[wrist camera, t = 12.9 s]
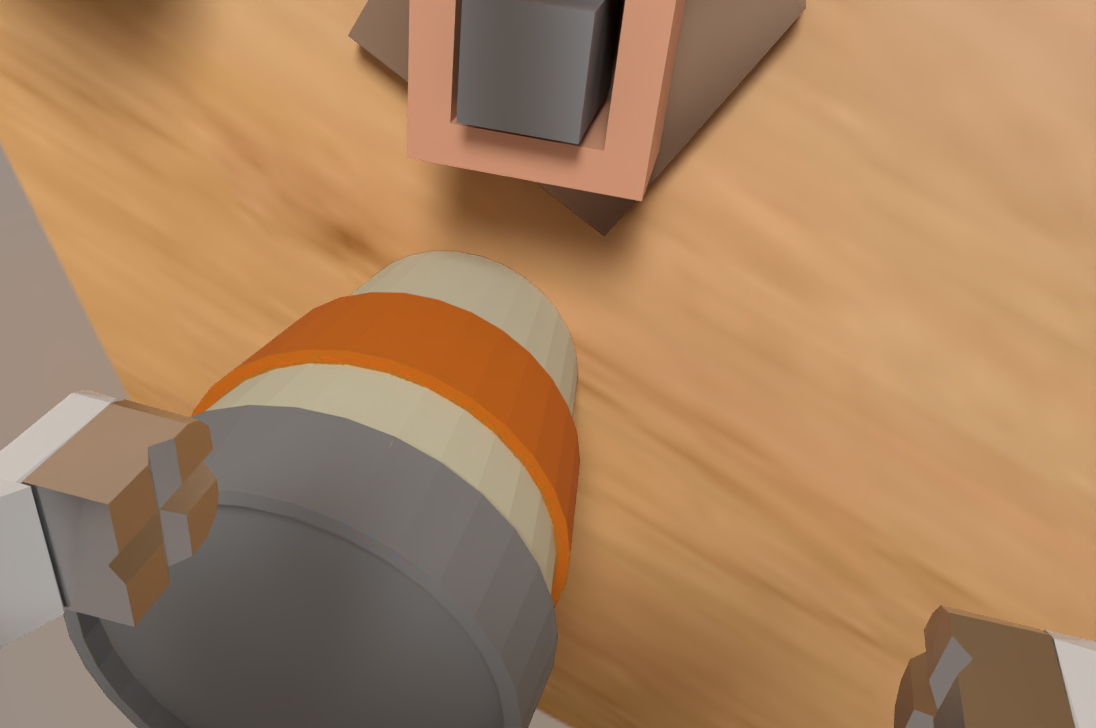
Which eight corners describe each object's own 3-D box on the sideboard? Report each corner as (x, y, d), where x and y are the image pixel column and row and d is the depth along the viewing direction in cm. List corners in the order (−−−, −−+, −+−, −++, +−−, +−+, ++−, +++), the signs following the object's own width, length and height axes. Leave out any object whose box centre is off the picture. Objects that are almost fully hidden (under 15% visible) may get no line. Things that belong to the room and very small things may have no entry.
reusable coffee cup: (596, 184, 31) (463, 472, 18) (649, 486, 37) (576, 852, 24) (259, 220, 34) (-43, 481, 22) (359, 490, 40) (169, 811, 28)
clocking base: (805, 0, 26) (808, 56, 21) (609, 223, 31) (574, 311, 26) (520, -251, 25) (452, -253, 20) (360, 28, 29) (273, 82, 25)
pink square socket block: (701, -89, 25) (687, -65, 21) (659, 150, 28) (641, 201, 25) (460, -124, 26) (411, -106, 22) (450, 113, 29) (406, 157, 26)
